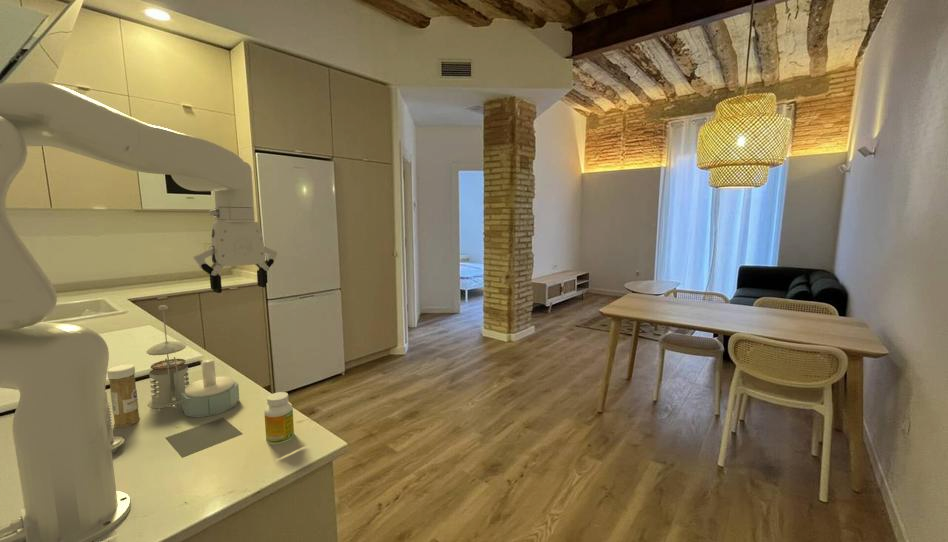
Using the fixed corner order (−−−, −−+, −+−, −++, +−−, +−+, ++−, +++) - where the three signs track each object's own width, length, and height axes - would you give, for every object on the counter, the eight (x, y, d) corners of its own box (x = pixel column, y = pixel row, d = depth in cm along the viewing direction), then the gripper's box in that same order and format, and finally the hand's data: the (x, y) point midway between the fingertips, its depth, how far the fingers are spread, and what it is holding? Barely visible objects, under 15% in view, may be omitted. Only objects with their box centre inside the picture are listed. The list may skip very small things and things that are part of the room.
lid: (193, 401, 90) (190, 372, 89) (179, 389, 96) (176, 362, 95) (240, 387, 97) (238, 360, 97) (224, 376, 104) (223, 351, 103)
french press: (191, 387, 108) (183, 299, 105) (200, 401, 100) (192, 306, 97) (145, 399, 101) (135, 304, 98) (150, 415, 93) (140, 312, 90)
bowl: (193, 423, 90) (191, 402, 89) (178, 408, 96) (176, 389, 96) (245, 405, 98) (243, 387, 98) (227, 393, 105) (226, 375, 104)
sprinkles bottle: (138, 425, 89) (132, 368, 87) (111, 431, 86) (104, 372, 84) (141, 416, 93) (135, 362, 91) (116, 421, 90) (109, 366, 88)
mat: (182, 459, 77) (182, 457, 76) (165, 439, 83) (165, 437, 83) (243, 435, 85) (242, 433, 85) (223, 419, 92) (223, 417, 92)
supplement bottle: (290, 444, 82) (287, 400, 81) (262, 447, 81) (259, 402, 80) (296, 431, 87) (294, 389, 86) (270, 433, 86) (268, 391, 85)
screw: (128, 444, 81) (121, 456, 77) (97, 450, 79) (88, 463, 75) (121, 384, 80) (113, 394, 75) (90, 389, 77) (79, 399, 73)
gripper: (197, 215, 80) (203, 296, 83) (281, 216, 94) (285, 286, 96) (185, 215, 85) (191, 292, 87) (267, 216, 99) (270, 283, 101)
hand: (240, 289), depth 92 cm, fingers open, 9 cm apart
